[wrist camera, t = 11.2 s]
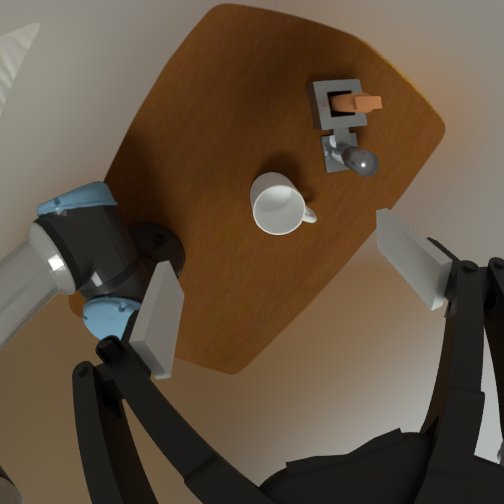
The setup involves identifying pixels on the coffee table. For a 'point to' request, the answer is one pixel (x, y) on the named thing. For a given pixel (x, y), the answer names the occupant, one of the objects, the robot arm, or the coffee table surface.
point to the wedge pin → (354, 103)
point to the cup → (278, 204)
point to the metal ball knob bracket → (340, 129)
